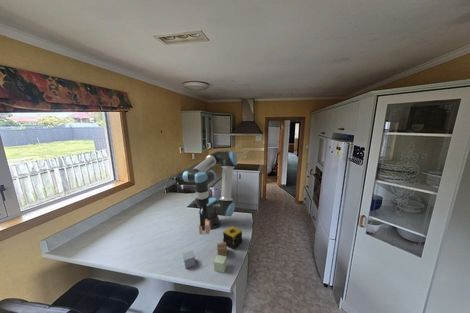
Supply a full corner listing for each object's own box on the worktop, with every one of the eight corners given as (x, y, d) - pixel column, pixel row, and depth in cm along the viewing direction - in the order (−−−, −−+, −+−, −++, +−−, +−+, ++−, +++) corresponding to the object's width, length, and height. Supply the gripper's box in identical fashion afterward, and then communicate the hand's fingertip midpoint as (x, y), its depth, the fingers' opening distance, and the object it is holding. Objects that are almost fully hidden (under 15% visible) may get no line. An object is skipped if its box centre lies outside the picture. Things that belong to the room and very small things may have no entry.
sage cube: (217, 263, 112) (217, 254, 111) (227, 264, 110) (226, 256, 109) (214, 270, 106) (213, 261, 105) (223, 272, 104) (223, 263, 103)
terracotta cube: (201, 229, 118) (200, 220, 117) (210, 228, 118) (209, 220, 117) (199, 234, 112) (198, 225, 111) (209, 234, 112) (208, 225, 111)
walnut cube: (217, 251, 122) (217, 243, 121) (226, 250, 123) (225, 242, 122) (218, 257, 116) (217, 249, 115) (227, 256, 117) (226, 248, 116)
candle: (223, 244, 129) (222, 231, 127) (232, 237, 137) (231, 225, 135) (233, 250, 123) (232, 237, 121) (242, 242, 130) (242, 230, 128)
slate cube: (184, 262, 114) (183, 253, 112) (193, 259, 116) (192, 250, 115) (185, 268, 108) (184, 260, 107) (195, 265, 111) (194, 256, 110)
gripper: (199, 191, 120) (201, 223, 124) (192, 204, 101) (196, 240, 105) (210, 191, 120) (212, 222, 124) (206, 203, 101) (208, 240, 105)
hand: (205, 230), depth 115 cm, fingers closed on terracotta cube, 6 cm apart
